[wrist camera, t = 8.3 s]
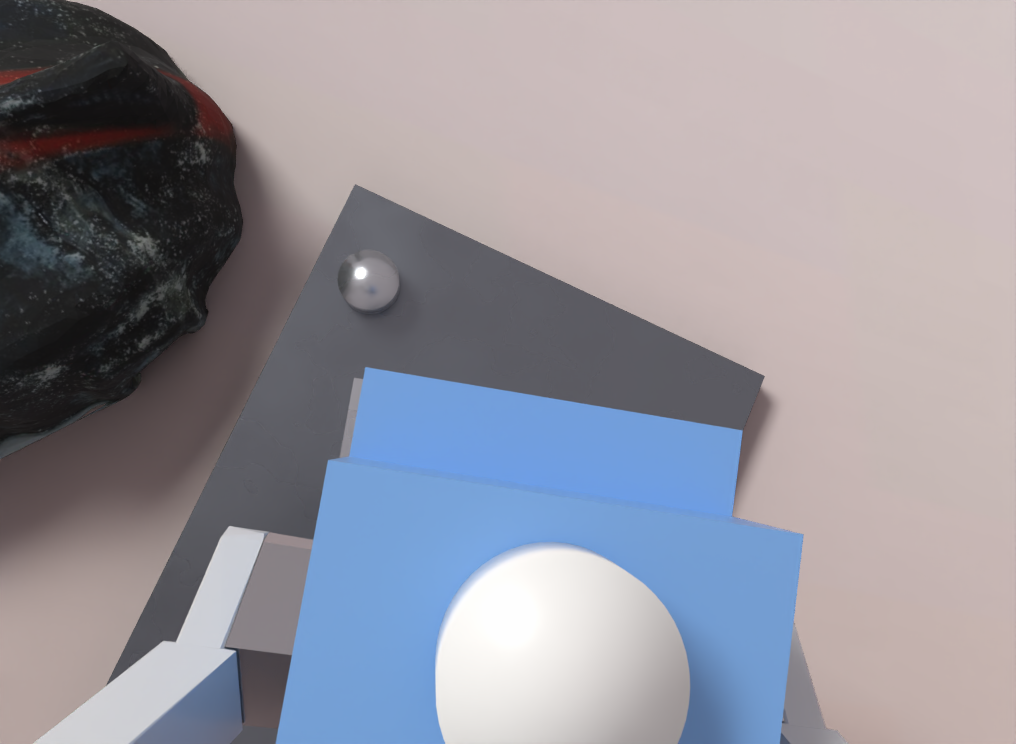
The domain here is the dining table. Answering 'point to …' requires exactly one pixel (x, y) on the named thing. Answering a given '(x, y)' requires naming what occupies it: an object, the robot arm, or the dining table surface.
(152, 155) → the drone shell
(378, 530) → the block
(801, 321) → the dining table surface
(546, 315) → the plate
